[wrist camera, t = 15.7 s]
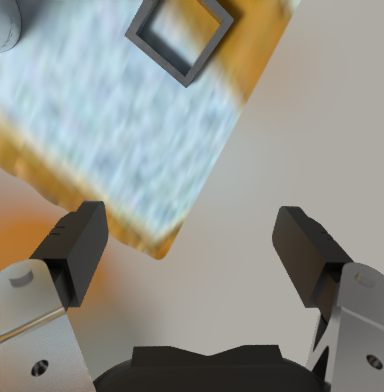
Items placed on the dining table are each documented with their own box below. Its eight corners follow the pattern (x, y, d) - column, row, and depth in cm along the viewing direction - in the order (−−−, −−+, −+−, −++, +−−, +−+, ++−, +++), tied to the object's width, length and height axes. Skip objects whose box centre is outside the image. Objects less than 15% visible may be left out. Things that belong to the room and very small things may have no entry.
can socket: (128, 37, 32) (124, 35, 30) (170, -40, 29) (170, -49, 26) (186, 86, 35) (186, 88, 33) (230, 23, 32) (234, 19, 30)
